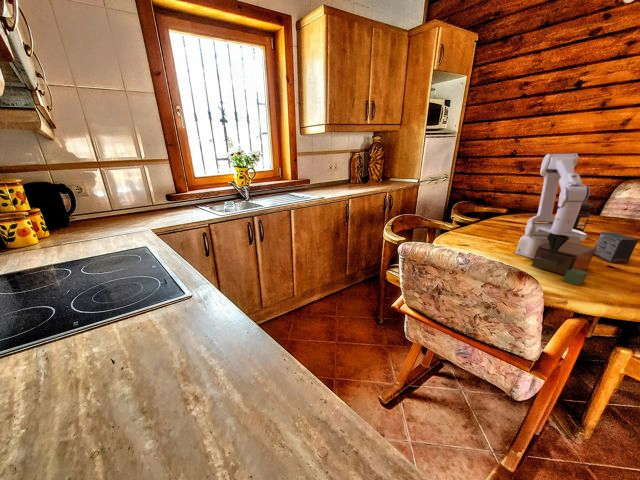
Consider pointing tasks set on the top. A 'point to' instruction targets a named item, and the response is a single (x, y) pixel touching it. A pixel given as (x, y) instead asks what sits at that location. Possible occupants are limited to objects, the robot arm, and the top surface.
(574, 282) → the block
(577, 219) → the french press
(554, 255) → the drawer
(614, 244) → the small box
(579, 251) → the cabinet
